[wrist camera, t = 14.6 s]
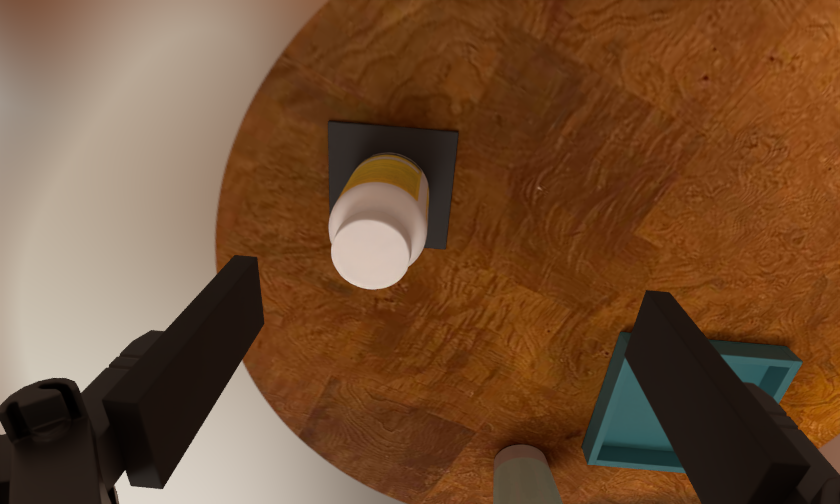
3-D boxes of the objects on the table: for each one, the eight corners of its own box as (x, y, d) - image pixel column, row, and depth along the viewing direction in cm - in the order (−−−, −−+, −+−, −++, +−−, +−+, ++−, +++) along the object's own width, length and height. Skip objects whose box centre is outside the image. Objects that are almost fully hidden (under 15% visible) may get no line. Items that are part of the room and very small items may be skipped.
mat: (458, 131, 35) (458, 132, 35) (445, 247, 39) (445, 249, 39) (329, 120, 35) (327, 121, 35) (330, 237, 39) (330, 239, 39)
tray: (786, 346, 42) (803, 361, 41) (723, 459, 50) (735, 477, 48) (620, 331, 43) (628, 346, 41) (581, 447, 50) (587, 464, 48)
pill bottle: (344, 153, 36) (304, 206, 25) (426, 147, 35) (420, 199, 25) (357, 229, 39) (325, 304, 28) (432, 224, 38) (429, 299, 28)
